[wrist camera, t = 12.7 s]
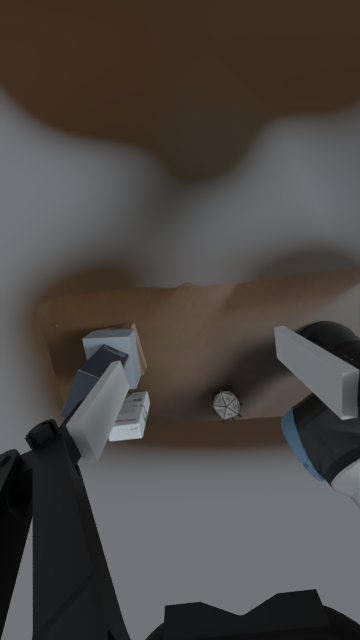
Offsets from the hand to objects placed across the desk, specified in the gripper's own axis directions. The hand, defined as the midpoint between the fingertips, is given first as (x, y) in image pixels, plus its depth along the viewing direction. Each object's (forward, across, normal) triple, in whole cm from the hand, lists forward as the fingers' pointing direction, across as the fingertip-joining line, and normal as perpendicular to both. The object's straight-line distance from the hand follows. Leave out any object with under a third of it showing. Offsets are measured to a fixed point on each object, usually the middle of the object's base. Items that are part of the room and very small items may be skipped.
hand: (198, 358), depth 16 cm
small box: (+23, +20, +10) cm, 32 cm away
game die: (+33, -4, +31) cm, 45 cm away
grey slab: (+28, +20, +9) cm, 35 cm away
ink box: (+32, +22, +26) cm, 47 cm away
